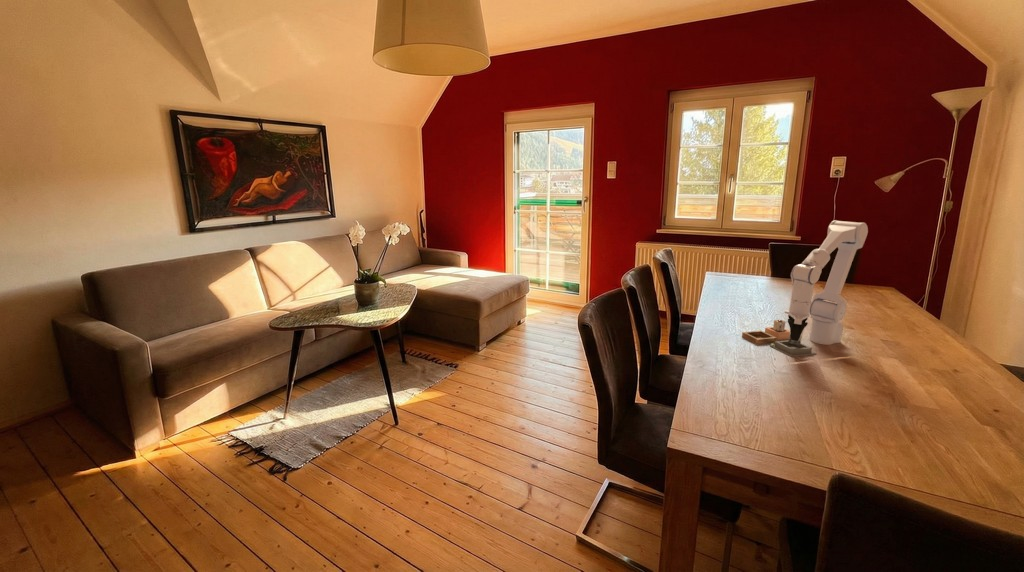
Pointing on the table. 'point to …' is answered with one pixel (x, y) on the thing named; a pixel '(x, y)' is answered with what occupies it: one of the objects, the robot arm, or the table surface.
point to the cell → (795, 340)
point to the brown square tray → (759, 337)
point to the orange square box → (778, 333)
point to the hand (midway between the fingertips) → (794, 338)
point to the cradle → (792, 349)
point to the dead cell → (779, 325)
